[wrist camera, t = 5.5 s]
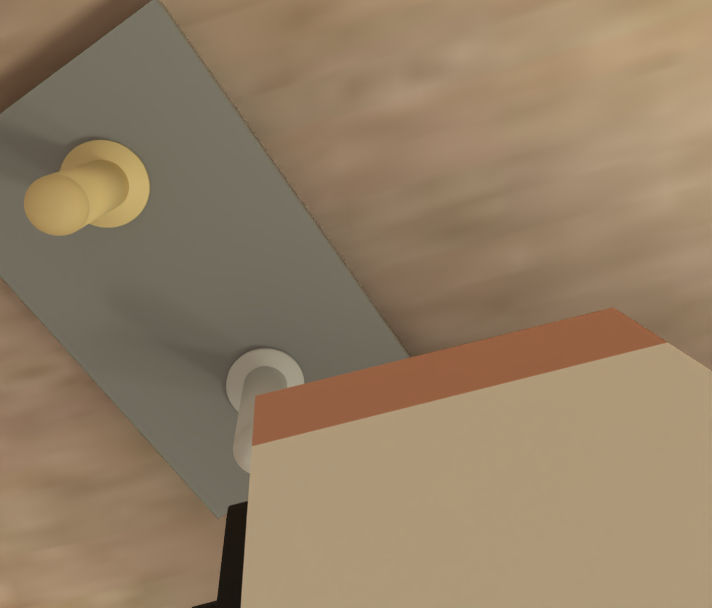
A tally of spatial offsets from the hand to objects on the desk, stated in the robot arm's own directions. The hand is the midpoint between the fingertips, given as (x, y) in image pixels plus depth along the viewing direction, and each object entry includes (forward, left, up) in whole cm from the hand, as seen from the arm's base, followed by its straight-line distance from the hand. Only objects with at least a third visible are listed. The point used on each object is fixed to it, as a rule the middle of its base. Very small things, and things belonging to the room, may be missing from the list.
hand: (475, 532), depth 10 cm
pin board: (+3, +6, -18) cm, 20 cm away
